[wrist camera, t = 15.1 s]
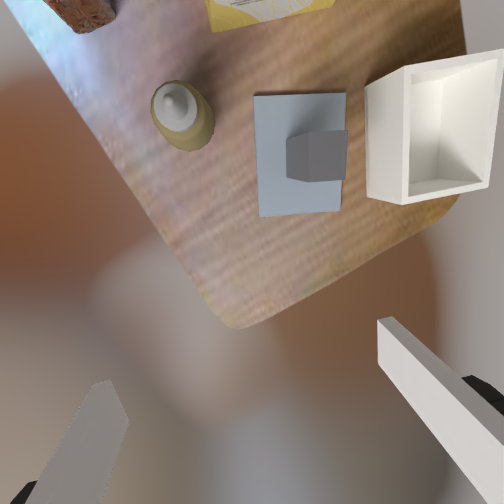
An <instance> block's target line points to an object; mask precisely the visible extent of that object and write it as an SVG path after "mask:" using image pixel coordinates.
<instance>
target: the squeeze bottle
mask: <svg viewBox="0 0 504 504" xmlns="http://www.w3.org/2000/svg"><path fill="white" fill-rule="evenodd" d="M151 115H152V118H153V121H154V124H155V125H156V127H157V128H158V129H159V131H160V132H161V133H162V135H163V136H164V137H165V138H166V140H167V141H168V142H169V143H170V144H171V145H173V146H175V147H176V148H178V149H180V150H185V151H194V150H199V149H201V148H202V147H203V146H205V145H206V144H207V143H208V142H209V141H210V139H211V137H212V135H213V134H214V126H215V120H214V115H213V111H212V109H211V107H210V106H209V104H208V103H207V101H206V100H205V99H204V97H203V96H202V95H201V94H200V93H199V91H198V90H197V89H195V88H194V87H193V86H191V85H190V84H189V83H187V82H182V81H178V80H174V81H169V82H165V83H164V84H162V85H161V86H160V87H159V88H157V89H156V91H155V93H154V95H153V97H152V99H151Z"/></svg>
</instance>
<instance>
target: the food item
mask: <svg viewBox="0 0 504 504" xmlns="http://www.w3.org/2000/svg"><path fill="white" fill-rule="evenodd" d="M43 1H44V2H45V3H46V4H47V5H49V6H50V7H51V8H52V9H53V10H54V11H55V12H56V14H57V15H58V16H59V17H60V18H61V19H62V20H63V21H65V22H66V23H67V25H69V26H70V27H71V28H72V29H73V31H74V32H75V33H78V34H83V33H86V32H87V33H90V32H92V31H94V30H95V29H97V28H99V27H101V26H104V25H106V24H108V23H111V22H112V21H113V20H115V12H114V10H113V9H112V7H111V1H110V0H43Z"/></svg>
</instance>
